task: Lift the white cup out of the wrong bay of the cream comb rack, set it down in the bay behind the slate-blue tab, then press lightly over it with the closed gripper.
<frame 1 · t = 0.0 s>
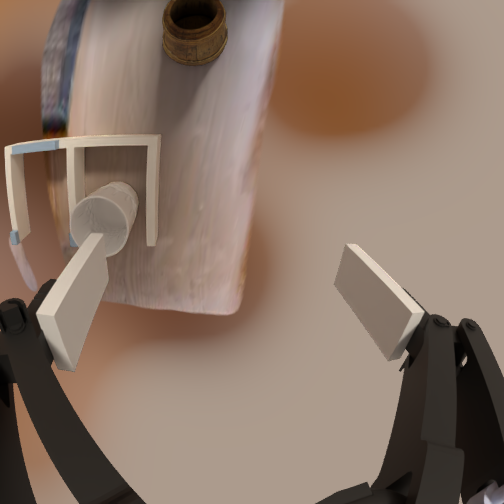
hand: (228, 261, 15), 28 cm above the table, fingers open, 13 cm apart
comb rack: (82, 202, 38), on the table
white cup: (118, 202, 39), on the table
wooden mug: (202, 25, 30), on the table
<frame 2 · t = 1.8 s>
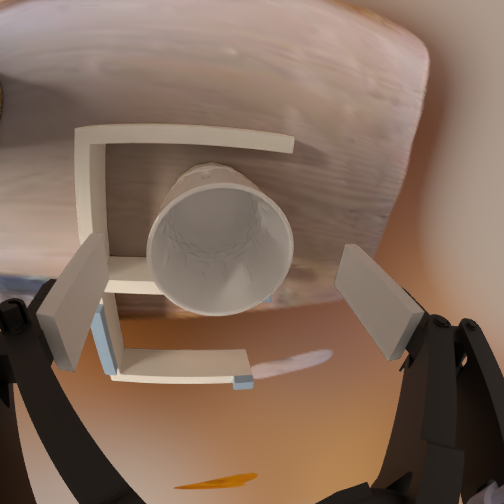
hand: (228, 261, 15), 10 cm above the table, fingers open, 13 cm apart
comb rack: (205, 264, 26), on the table
white cup: (210, 200, 24), on the table
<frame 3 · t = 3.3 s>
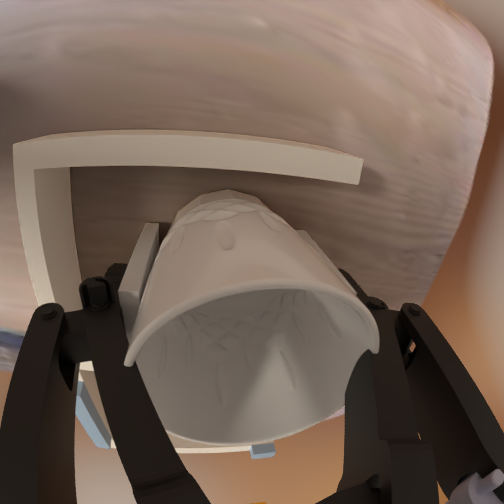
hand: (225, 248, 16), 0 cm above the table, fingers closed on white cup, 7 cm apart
comb rack: (218, 326, 19), on the table
white cup: (224, 244, 17), on the table, touching gripper
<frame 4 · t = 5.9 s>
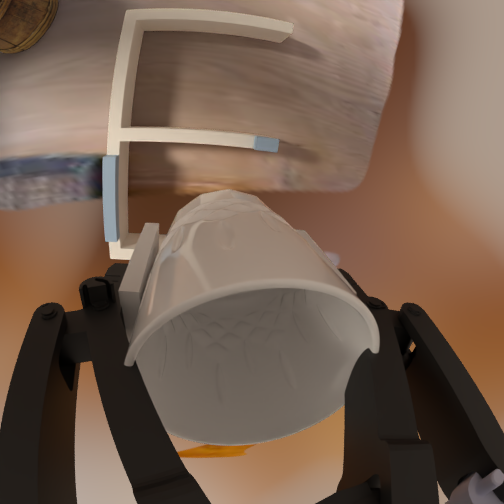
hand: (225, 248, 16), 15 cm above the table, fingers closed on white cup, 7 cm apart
comb rack: (217, 135, 27), on the table
white cup: (224, 244, 17), point 15 cm above the table, touching gripper
wooden mug: (16, 20, 15), on the table
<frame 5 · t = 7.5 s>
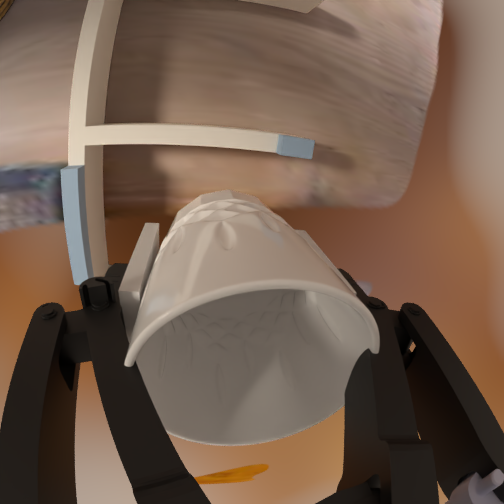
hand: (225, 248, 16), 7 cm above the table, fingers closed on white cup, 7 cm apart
comb rack: (223, 134, 20), on the table
white cup: (224, 244, 17), point 6 cm above the table, touching gripper
when the fingers open (2 cm above the table, at t = 8.9 s): white cup drops 1 cm, on the table.
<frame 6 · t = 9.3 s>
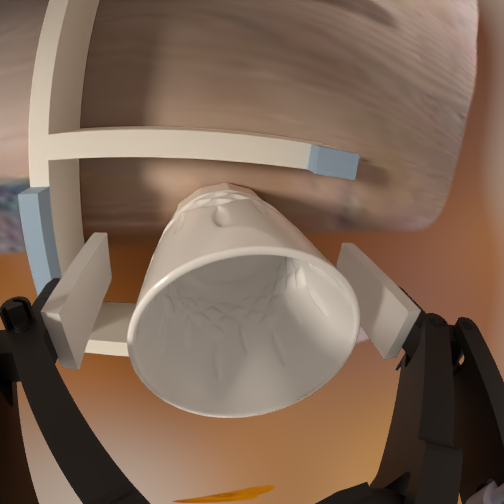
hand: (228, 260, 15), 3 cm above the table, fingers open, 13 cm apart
comb rack: (232, 140, 15), on the table
white cup: (222, 234, 18), on the table
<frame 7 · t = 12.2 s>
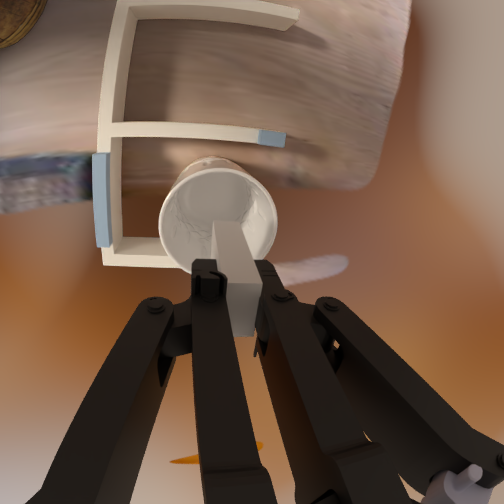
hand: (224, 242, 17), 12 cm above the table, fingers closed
comb rack: (217, 130, 25), on the table
white cup: (211, 188, 28), on the table
wooden mug: (4, 14, 12), on the table
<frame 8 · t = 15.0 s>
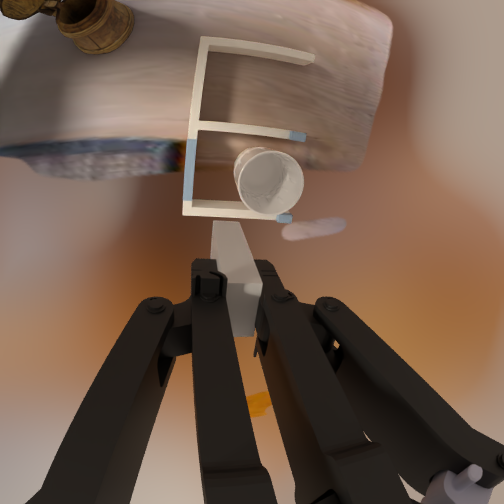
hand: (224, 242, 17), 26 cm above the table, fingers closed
comb rack: (261, 130, 39), on the table
white cup: (255, 168, 42), on the table
wooden mug: (93, 26, 27), on the table
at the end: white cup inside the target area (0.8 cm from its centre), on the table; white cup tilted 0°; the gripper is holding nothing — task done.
